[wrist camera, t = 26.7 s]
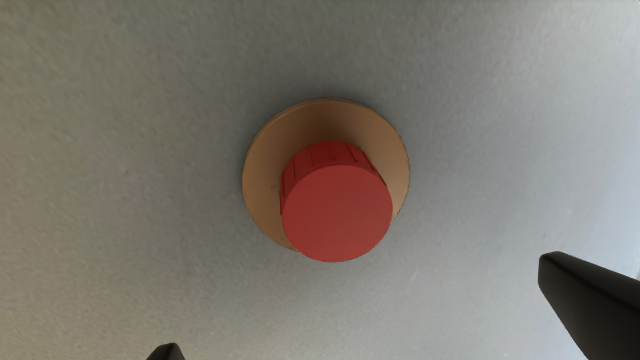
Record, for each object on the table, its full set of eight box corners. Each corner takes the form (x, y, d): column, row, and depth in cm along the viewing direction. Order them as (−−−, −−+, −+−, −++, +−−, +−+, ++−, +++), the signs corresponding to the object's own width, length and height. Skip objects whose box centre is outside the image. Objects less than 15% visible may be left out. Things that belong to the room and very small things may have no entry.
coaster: (396, 79, 15) (401, 82, 14) (412, 228, 18) (417, 235, 17) (220, 119, 15) (218, 123, 14) (266, 262, 18) (266, 270, 17)
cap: (394, 167, 16) (415, 195, 14) (343, 241, 17) (354, 277, 15) (311, 121, 15) (318, 142, 12) (262, 204, 16) (260, 238, 14)
